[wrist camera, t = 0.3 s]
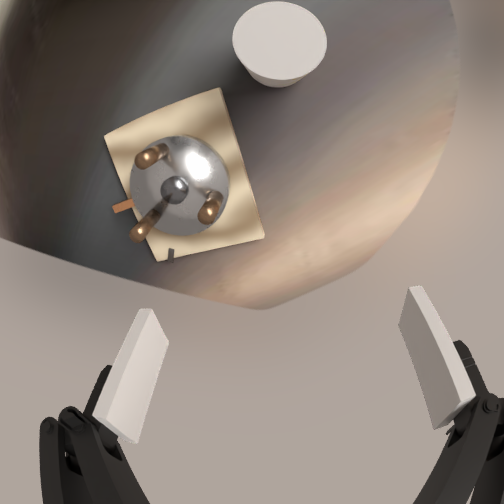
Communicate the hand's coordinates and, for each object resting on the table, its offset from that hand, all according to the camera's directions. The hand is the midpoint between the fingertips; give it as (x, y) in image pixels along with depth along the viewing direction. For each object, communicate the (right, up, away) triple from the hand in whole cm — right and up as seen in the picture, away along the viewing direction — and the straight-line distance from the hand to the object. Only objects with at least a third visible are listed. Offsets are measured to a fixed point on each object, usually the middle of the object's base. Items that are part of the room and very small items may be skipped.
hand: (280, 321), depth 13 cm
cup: (+2, +28, +15) cm, 32 cm away
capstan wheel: (-13, +12, +23) cm, 29 cm away
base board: (-11, +14, +24) cm, 30 cm away
